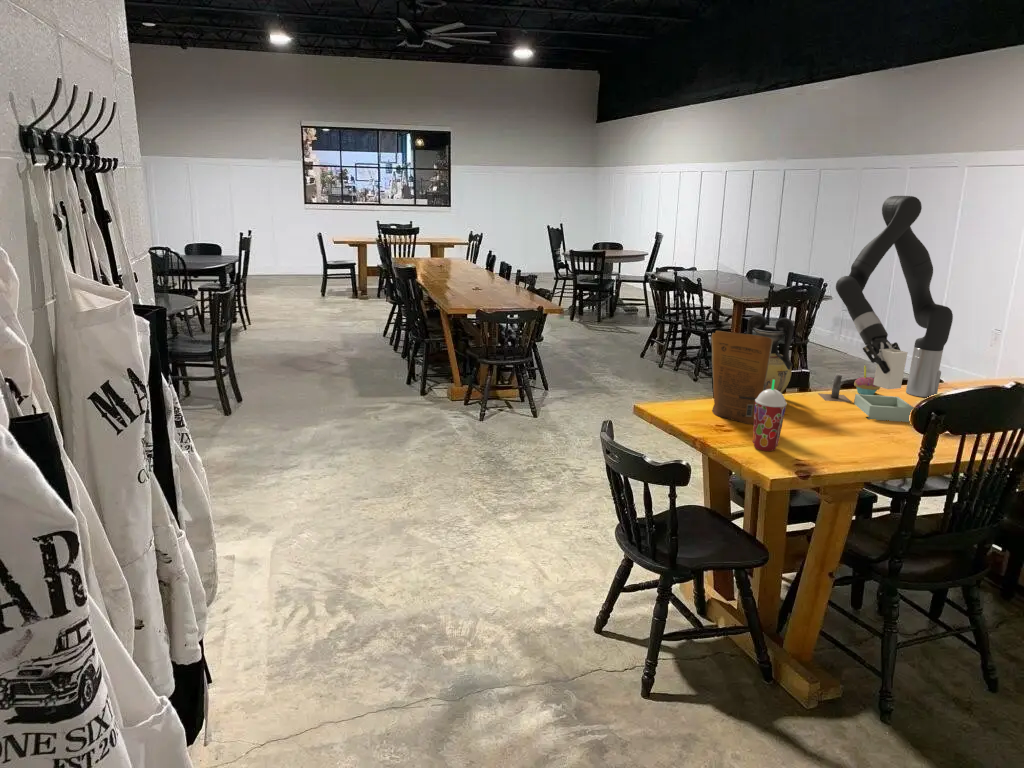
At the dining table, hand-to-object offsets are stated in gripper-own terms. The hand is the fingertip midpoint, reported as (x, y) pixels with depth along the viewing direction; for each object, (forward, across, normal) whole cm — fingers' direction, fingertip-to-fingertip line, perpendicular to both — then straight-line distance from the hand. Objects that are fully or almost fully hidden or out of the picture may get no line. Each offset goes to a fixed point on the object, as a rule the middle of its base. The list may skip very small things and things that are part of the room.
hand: (894, 371), depth 236 cm
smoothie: (+19, -62, +3) cm, 64 cm away
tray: (+10, 0, +12) cm, 15 cm away
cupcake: (-3, +13, +25) cm, 28 cm away
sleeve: (+3, 0, +5) cm, 6 cm away
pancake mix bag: (+2, -52, +21) cm, 56 cm away
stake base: (-2, -3, +24) cm, 24 cm away
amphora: (-7, -30, +29) cm, 42 cm away
